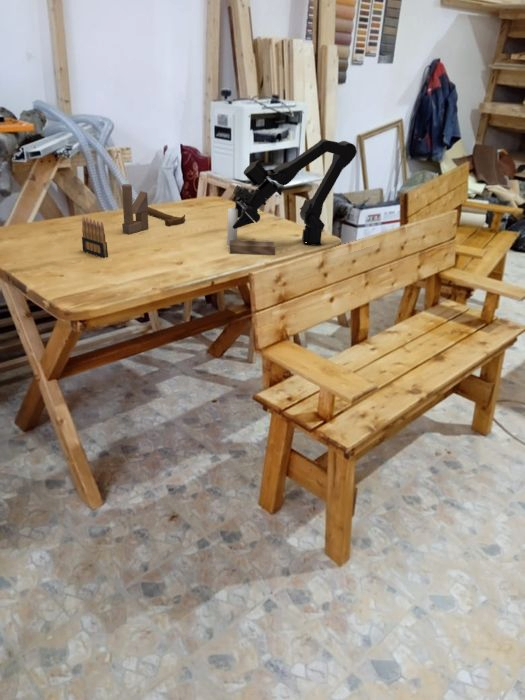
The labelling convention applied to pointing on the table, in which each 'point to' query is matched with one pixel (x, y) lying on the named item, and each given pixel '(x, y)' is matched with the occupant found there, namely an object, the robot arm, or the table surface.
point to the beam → (252, 247)
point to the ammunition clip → (94, 238)
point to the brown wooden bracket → (134, 210)
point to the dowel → (231, 221)
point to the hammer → (167, 217)
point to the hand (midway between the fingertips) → (231, 224)
